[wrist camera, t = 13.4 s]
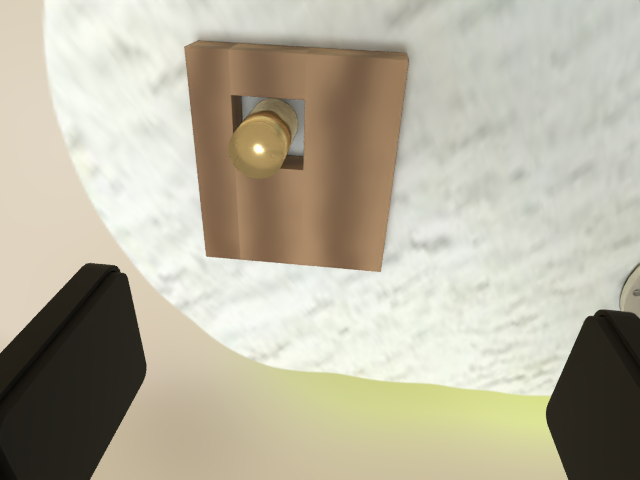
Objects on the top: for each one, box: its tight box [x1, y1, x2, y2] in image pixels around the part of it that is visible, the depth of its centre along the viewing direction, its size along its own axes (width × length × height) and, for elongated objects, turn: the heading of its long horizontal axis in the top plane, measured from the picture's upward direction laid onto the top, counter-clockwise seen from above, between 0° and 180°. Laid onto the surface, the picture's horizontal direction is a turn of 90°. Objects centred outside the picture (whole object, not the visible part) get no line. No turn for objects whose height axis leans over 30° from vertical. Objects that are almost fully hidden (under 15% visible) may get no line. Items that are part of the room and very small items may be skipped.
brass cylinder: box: [228, 98, 298, 179], centre depth 36 cm, size 4×4×7 cm
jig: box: [184, 41, 409, 272], centre depth 39 cm, size 16×18×3 cm
